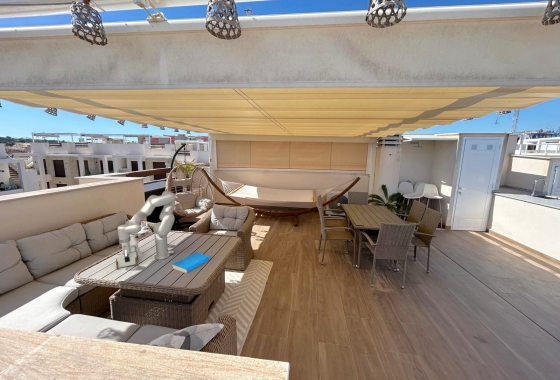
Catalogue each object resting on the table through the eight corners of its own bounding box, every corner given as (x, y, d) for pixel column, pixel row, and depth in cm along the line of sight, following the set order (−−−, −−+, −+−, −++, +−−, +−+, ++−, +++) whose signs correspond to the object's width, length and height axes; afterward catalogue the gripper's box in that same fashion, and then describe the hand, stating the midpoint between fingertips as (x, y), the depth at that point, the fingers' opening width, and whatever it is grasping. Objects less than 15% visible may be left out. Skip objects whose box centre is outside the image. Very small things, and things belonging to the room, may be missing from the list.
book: (171, 264, 182) (195, 251, 204) (172, 269, 183) (196, 256, 205) (186, 269, 174) (210, 255, 196) (187, 274, 175) (210, 260, 197)
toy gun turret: (144, 250, 212) (142, 232, 209) (140, 257, 200) (139, 238, 196) (129, 252, 208) (127, 234, 205) (125, 258, 196) (123, 239, 192)
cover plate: (137, 262, 188) (136, 251, 186) (137, 263, 186) (136, 252, 184) (118, 266, 181) (116, 255, 179) (118, 267, 179) (116, 256, 177)
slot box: (137, 258, 197) (136, 250, 196) (137, 265, 185) (136, 257, 184) (118, 262, 190) (117, 254, 189) (116, 269, 178) (115, 261, 177)
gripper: (130, 242, 175) (132, 264, 178) (130, 235, 188) (133, 256, 191) (118, 244, 171) (121, 266, 174) (119, 237, 184) (122, 258, 187)
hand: (127, 260), depth 183 cm, fingers closed on cover plate, 2 cm apart
